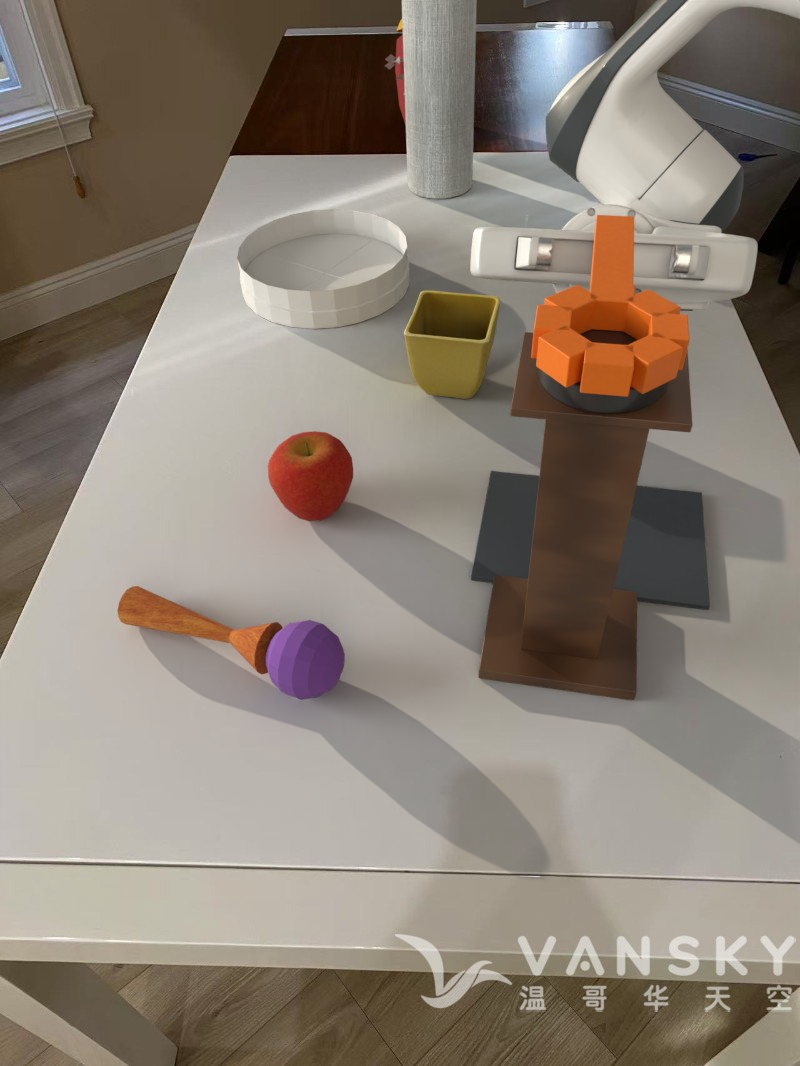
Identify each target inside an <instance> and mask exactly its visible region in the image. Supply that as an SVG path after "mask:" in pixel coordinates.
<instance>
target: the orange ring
mask: <svg viewBox="0 0 800 1066" xmlns="http://www.w3.org/2000/svg"><path fill="white" fill-rule="evenodd" d="M633 276H634V217H631V216H611V215H597V217H596V225H595V233H594V245H593V257H592V268H591V280H590V291H588V290H586V289H584V288H583V287H581V286H579V285H575V286H573V287H571V288H568V289H566V290H563V291H561V292H559V293H556V292H555V293H554V294H552V295H549V296H546V297H545V298H544V301H543V302H544V303H543V304H537V307H536V311H535V318H534V326H533V332H532V333H533V343H532V355H531V358H534V359H537V362H536V366H537V367H538V368H539V369H540V370H542V371H543V372H545V373H546V374H547V375H549V376H550V377H552V378H553V379H554V380H556V381H557V382H559V383H560V384H561V385H563V386H564V387H569V386H571V385H573V384H575V383H577V382H580V381H581V384H580V393H590V394H601V395H613V396H625V397H628V396H629V391H630V386H631V387H633V388H634V389H636V390H637V391H639V392H640V393H642V394H644V393H646V392H648V391H650V390H652V389H654V388H656V387H658V386H660V385H662V384H664V383H666V382H668V381H670V380H672V379H674V378H676V376H677V372H678V370H682V369H683V365H684V360H685V356H686V352H687V348H689V343H690V331H689V330H690V329H689V315H688V314H686V313H685V314H683V313H681V311H680V309H681V307H680V306H678V305H676V304H674V303H672V302H671V301H669V300H667V299H665V298H663V297H662V296H660V295H658V294H656V293H654V292H653V291H651V290H649V289H647V290H645V291H643V292H641V293H638V294H636V295H635V285H633ZM591 329H595V330H609V331H623V332H625V333H627V334H628V335H630V336H631V337H633V338H635V339H636V340H638V341H635V342H633V343H631V344H629V345H620V344H607V343H593V342H591V341H589V340H588V339H586V338H585V337H583V336H582V335H580V334H582V333H584V332H586V331H588V330H591Z"/></svg>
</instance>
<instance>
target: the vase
mask: <svg viewBox="0 0 800 1066" xmlns="http://www.w3.org/2000/svg"><path fill="white" fill-rule="evenodd" d="M477 2H478V1H477V0H401V19H402V25H403V32H402V35H403V56H404V86H405V116H406V125H405V141H406V145H405V146H406V168H407V169H406V172H407V185H408V189H409V191H411V193H413V194H415V195H416V196H418V197H421V198H425V199H434V200H443V199H445V200H446V199H452V198H456V197H459V196H462V195H463V194H465V193H466V192H468V191H470V189H471V188H472V186H473V176H474V175H473V173H474V172H473V171H474V135H475V133H474V131H475V129H474V127H475V91H476V89H475V86H476V44H477V42H476V41H477V37H476V36H477V4H478V3H477Z"/></svg>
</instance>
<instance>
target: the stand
mask: <svg viewBox="0 0 800 1066" xmlns="http://www.w3.org/2000/svg"><path fill="white" fill-rule="evenodd" d="M580 335H582V336H583V337H585V338H586V339H588V340H589V341H591V342H593V343H607V344H620V345H629V344H631V343H633V342H635V341H638V340H636V339H635V338H633V337H631V336H630V335H628V334H627V333H625V332H623V331H609V330H595V329H591V330H588V331H586V332H584V333H582V334H580ZM532 343H533V332H529V331H523V337H522V343H521V348H520V353H519V359H518V365H517V371H516V376H515V382H514V387H513V392H512V393H513V394H512V399H511V405H510V413H509V414H510V417H515V418H527V419H538V420H545V422H544V429H543V439H542V449H541V456H540V457H541V458H540V466H539V474H538V476H539V484H538V493H537V503H536V512H535V521H534V530H533V539H532V549H531V558H530V567H529V576H528V579H526V578H518V577H510V576H502V575H494V580H493V583H492V588H491V593H490V599H489V600H490V601H489V603H488V604H489V605H488V612H487V617H486V624H485V630H484V635H483V643H482V648H481V654H480V661H479V667H478V679H482V680H483V679H484V680H489V681H491V680H492V681H496V682H503V683H511V684H517V685H523V686H532V687H538V688H545V689H553V690H558V691H559V690H560V691H567V692H573V693H578V694H586V695H593V696H601V697H607V698H613V699H621V700H626V701H627V700H628V701H635V699H636V695H637V691H638V689H637V687H638V686H637V685H638V683H637V682H638V681H637V680H638V679H637V676H638V670H637V669H638V662H637V661H638V601H637V592H631V591H623V590H615V589H614V584H615V580H616V575H617V571H618V566H619V562H620V557H621V553H622V549H623V544H624V540H625V535H626V531H627V526H628V522H629V518H630V513H631V509H632V504H633V500H634V495H635V491H636V487H637V486H638V481H639V478H640V473H641V469H642V464H643V459H644V456H645V451H646V446H647V443H648V438H649V433H650V430H657V431H667V432H677V433H678V432H679V433H691V432H692V428H693V410H692V396H691V394H692V393H691V381H690V367H689V364H690V363H689V349H688V348H689V347H688V348H687V352H686V356H685V360H684V365H683V369H682V370H678V372H677V376H676V378H674V379H672V380H670V381H668V382H666V383H664V384H662V385H660V386H658V387H656V388H654V389H652V390H650V391H648V392H646V393H644V394H642V393H640V392H639V391H637V390H636V389H634V388H633V387H631V386H630V391H629V396H628V397H625V396H613V395H601V394H590V393H580V384H581V381H580V382H577V383H575V384H573V385H571V386H569V387H564V386H563V385H561V384H560V383H559V382H557V381H556V380H554V379H553V378H552V377H550V376H549V375H547V374H546V373H545V372H543V371H542V370H540V369H539V368H538V367H537V366H536V362H537V359H534V358H531V355H532Z"/></svg>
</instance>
